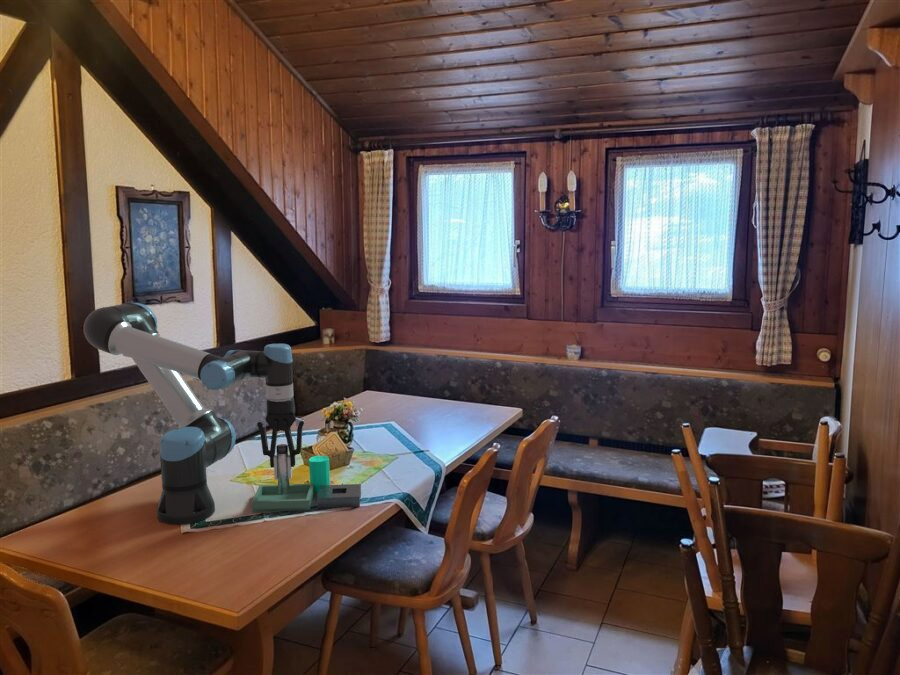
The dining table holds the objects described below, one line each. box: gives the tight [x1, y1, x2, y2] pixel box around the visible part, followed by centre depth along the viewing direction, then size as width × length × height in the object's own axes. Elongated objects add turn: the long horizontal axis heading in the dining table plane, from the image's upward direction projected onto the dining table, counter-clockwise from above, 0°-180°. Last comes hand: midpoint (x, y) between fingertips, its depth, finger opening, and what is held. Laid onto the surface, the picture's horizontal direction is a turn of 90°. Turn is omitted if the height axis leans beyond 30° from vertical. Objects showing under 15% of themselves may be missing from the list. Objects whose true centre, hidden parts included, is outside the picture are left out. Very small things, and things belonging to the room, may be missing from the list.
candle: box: [308, 454, 331, 495], centre depth 218 cm, size 6×6×12 cm
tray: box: [251, 483, 315, 513], centre depth 209 cm, size 16×13×3 cm
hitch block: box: [316, 483, 362, 509], centre depth 210 cm, size 12×10×3 cm
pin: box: [275, 443, 290, 494], centre depth 208 cm, size 3×3×14 cm
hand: (283, 477), depth 208 cm, fingers closed on pin, 3 cm apart
